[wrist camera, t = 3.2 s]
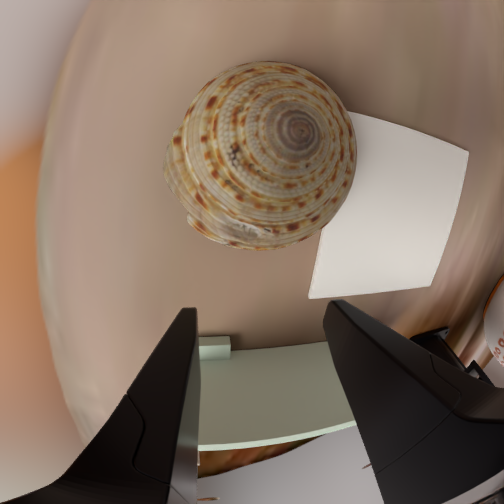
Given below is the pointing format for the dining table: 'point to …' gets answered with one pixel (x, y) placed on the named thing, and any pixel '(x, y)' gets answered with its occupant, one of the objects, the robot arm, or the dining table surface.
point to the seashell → (262, 156)
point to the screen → (267, 395)
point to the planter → (495, 321)
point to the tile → (390, 213)
